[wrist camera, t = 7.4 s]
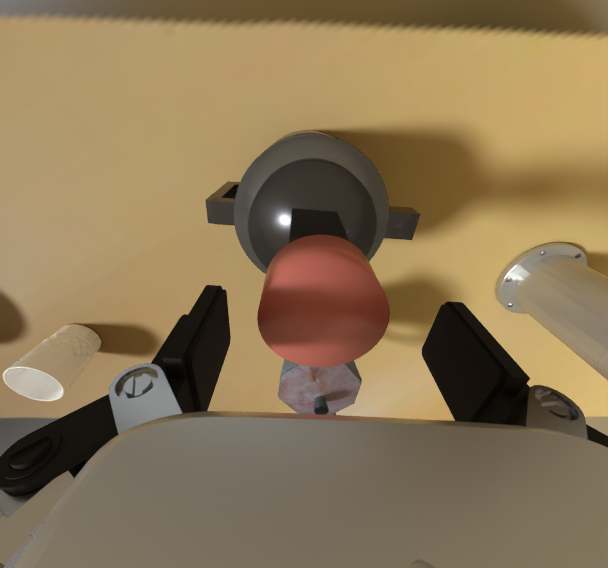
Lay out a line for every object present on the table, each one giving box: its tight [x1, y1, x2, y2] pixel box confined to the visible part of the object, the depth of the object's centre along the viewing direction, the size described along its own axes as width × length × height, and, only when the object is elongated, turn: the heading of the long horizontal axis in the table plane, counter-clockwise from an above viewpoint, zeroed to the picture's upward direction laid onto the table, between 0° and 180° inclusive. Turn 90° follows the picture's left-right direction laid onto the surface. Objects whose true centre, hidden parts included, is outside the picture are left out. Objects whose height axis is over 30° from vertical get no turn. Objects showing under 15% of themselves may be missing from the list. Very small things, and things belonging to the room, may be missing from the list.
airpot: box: [206, 130, 420, 274], centre depth 24 cm, size 19×13×23 cm
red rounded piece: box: [258, 235, 390, 367], centre depth 16 cm, size 6×6×10 cm
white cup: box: [3, 324, 101, 401], centre depth 43 cm, size 8×8×10 cm
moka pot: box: [278, 359, 362, 415], centre depth 36 cm, size 10×15×20 cm, turn 19°
